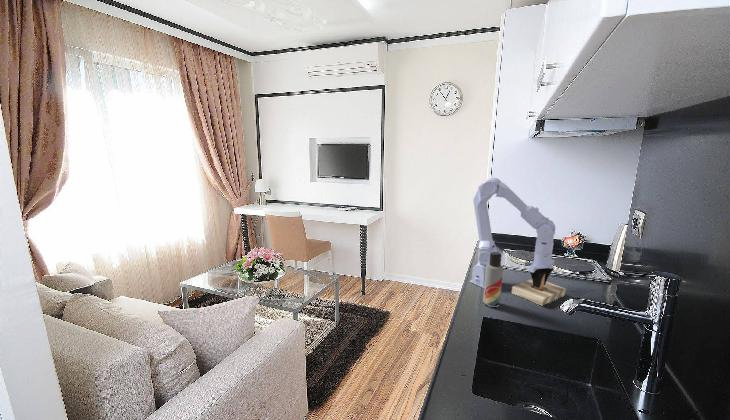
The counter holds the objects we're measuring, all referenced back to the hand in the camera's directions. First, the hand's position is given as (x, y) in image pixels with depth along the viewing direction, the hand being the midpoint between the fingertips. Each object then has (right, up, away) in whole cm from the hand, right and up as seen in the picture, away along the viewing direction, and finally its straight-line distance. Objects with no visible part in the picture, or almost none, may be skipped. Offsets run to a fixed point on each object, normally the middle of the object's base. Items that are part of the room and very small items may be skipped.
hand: (539, 285), depth 121 cm
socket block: (0, -4, +1) cm, 4 cm away
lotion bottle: (-21, -6, -7) cm, 23 cm away
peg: (0, -3, +1) cm, 3 cm away
